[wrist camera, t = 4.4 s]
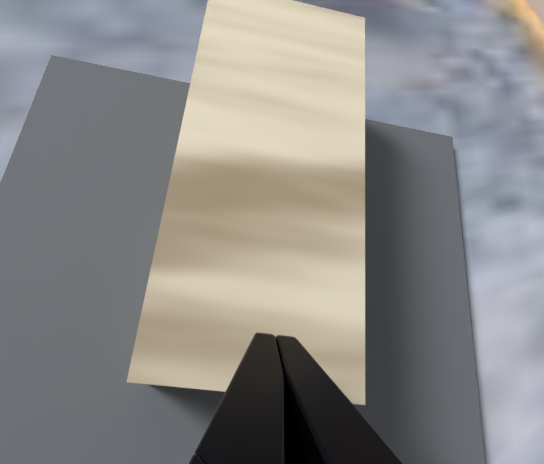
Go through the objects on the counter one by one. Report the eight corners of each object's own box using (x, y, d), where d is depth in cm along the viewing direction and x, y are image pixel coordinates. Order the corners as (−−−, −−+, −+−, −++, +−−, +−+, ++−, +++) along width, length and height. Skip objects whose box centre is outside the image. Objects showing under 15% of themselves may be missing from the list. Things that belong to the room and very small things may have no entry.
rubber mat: (514, 886, 12) (530, 911, 11) (-293, 961, 9) (-325, 999, 8) (445, 143, 21) (452, 136, 21) (55, 65, 19) (51, 55, 18)
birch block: (365, 405, 10) (364, 17, 16) (126, 382, 9) (212, -19, 15) (311, 399, 15) (325, 101, 20) (147, 384, 14) (207, 77, 19)
